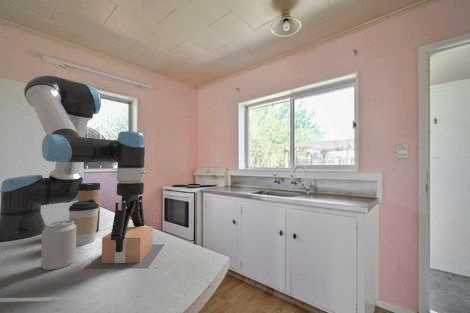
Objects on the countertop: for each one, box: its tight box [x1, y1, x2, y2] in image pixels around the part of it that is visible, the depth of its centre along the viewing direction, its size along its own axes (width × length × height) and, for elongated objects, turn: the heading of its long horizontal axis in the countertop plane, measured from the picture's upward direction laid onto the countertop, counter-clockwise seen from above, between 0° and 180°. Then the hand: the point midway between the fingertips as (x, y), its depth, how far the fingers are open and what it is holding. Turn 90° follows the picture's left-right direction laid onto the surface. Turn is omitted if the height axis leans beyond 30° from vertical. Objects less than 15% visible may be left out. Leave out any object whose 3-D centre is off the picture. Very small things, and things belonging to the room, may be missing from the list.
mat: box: [82, 243, 166, 270], centre depth 66 cm, size 17×17×1 cm
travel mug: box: [77, 182, 101, 233], centre depth 90 cm, size 8×8×20 cm
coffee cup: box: [68, 200, 99, 248], centre depth 77 cm, size 9×9×15 cm
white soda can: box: [40, 219, 77, 271], centre depth 61 cm, size 8×8×12 cm
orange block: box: [101, 226, 154, 263], centre depth 67 cm, size 11×11×7 cm
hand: (129, 254), depth 66 cm, fingers closed on orange block, 11 cm apart
